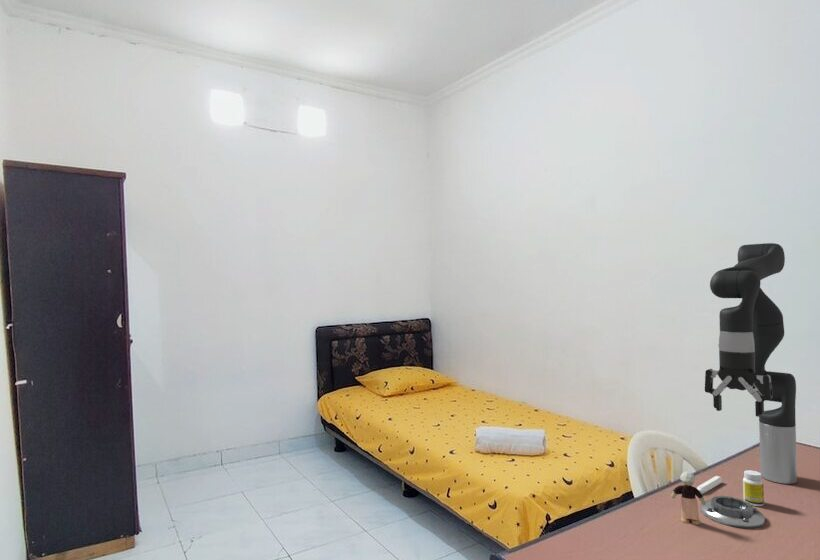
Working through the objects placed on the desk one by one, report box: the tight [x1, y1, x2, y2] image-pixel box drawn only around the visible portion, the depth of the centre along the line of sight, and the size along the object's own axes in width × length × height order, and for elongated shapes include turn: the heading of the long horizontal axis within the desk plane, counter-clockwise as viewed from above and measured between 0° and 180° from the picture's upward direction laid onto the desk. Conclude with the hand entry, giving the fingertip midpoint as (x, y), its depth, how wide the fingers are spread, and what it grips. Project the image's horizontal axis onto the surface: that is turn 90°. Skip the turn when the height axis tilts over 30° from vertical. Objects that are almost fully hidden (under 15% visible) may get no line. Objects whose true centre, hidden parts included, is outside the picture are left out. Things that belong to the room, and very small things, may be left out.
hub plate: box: [700, 495, 765, 529], centre depth 130 cm, size 14×14×3 cm
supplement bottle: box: [742, 469, 765, 507], centre depth 137 cm, size 5×5×8 cm
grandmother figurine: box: [670, 470, 706, 525], centre depth 127 cm, size 8×4×13 cm, turn 71°
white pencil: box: [696, 475, 724, 495], centre depth 147 cm, size 3×2×16 cm
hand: (738, 413), depth 125 cm, fingers open, 8 cm apart
